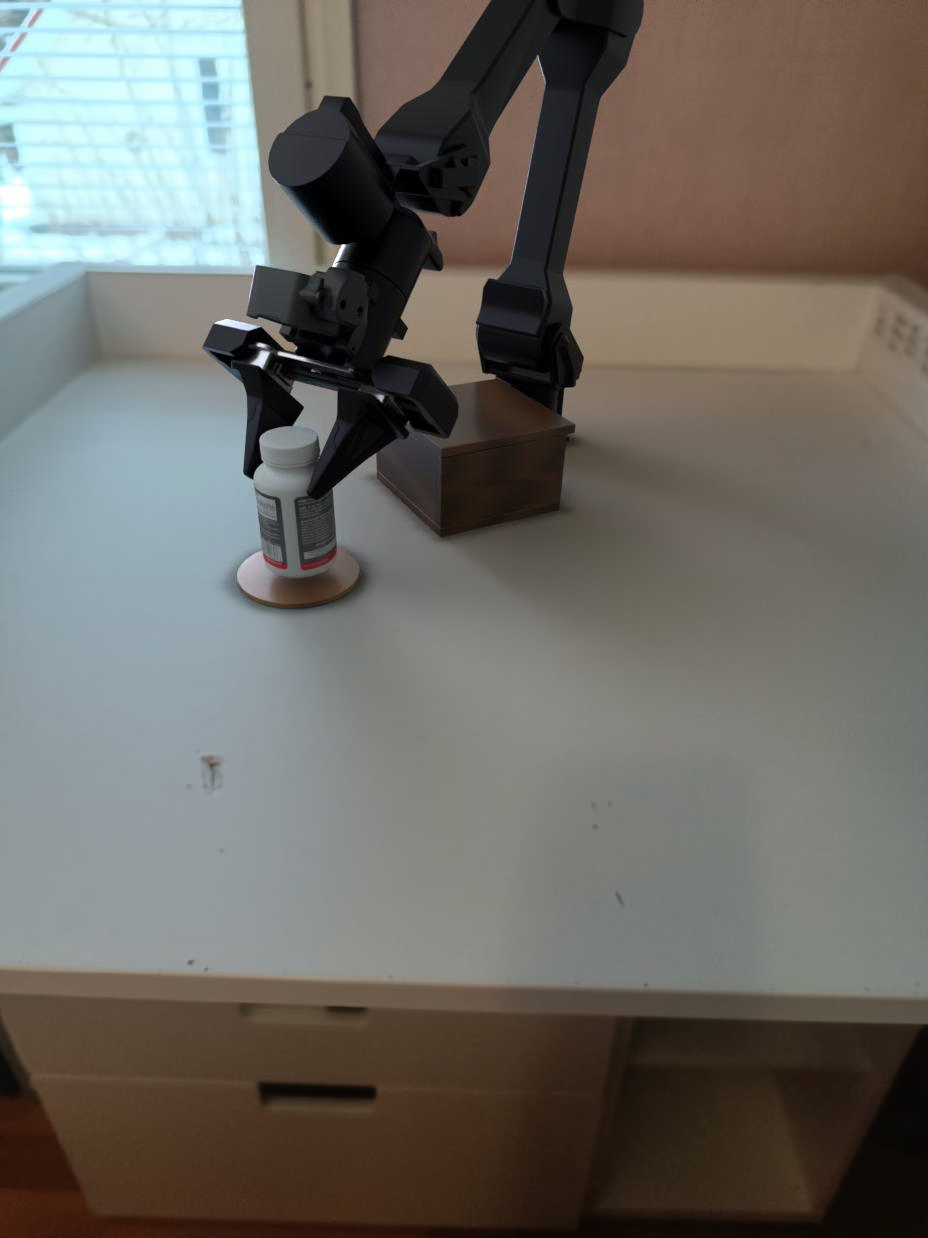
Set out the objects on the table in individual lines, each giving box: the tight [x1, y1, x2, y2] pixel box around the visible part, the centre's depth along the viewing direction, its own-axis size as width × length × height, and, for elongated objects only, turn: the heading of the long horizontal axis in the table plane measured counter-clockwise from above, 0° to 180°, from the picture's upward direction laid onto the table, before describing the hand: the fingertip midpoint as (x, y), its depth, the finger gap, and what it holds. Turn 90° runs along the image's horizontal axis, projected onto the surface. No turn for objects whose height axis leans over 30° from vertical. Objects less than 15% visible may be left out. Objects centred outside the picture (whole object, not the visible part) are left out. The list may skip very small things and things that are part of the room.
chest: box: [375, 432, 568, 538], centre depth 76 cm, size 12×13×7 cm
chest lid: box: [405, 378, 576, 458], centre depth 74 cm, size 12×13×1 cm
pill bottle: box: [253, 425, 338, 578], centre depth 62 cm, size 5×5×10 cm
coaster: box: [236, 546, 361, 609], centre depth 65 cm, size 9×9×1 cm
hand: (279, 487), depth 60 cm, fingers closed on pill bottle, 5 cm apart
